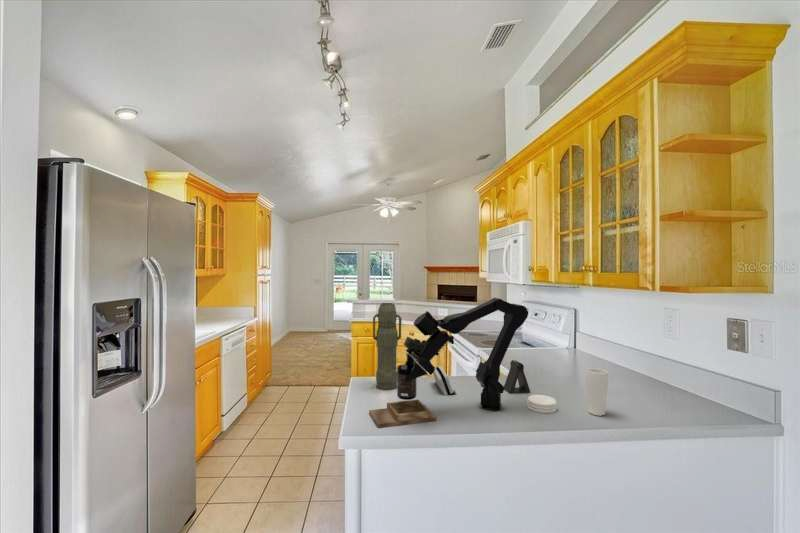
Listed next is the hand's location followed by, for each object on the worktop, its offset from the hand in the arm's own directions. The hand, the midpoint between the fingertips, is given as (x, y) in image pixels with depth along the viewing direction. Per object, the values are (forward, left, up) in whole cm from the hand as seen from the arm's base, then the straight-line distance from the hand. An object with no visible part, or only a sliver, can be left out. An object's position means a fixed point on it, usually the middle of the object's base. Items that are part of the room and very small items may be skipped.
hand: (403, 378), depth 134 cm
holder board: (-1, +3, -12) cm, 13 cm away
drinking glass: (-63, -26, -12) cm, 69 cm away
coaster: (-45, -24, -13) cm, 52 cm away
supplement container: (-1, -1, -7) cm, 7 cm away
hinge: (-6, -31, -13) cm, 34 cm away
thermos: (+16, -24, -12) cm, 32 cm away
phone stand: (-35, -40, -13) cm, 54 cm away
